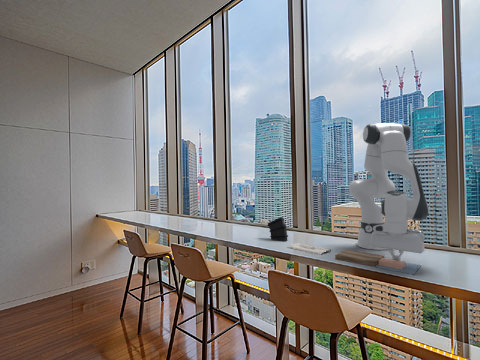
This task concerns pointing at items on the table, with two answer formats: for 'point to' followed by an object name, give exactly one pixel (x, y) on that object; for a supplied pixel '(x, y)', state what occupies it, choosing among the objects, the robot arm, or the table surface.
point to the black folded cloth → (278, 229)
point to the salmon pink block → (392, 263)
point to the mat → (408, 268)
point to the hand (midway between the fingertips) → (396, 260)
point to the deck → (359, 257)
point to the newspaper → (308, 248)
